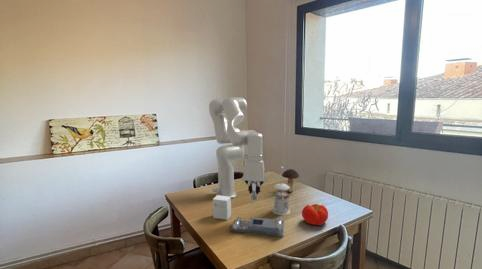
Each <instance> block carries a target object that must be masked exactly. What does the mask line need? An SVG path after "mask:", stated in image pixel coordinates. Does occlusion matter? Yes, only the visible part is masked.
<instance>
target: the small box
mask: <svg viewBox="0 0 482 269" xmlns="http://www.w3.org/2000/svg"><path fill="white" fill-rule="evenodd" d="M231 200H232V198H231V197H228V196H220V195H217V196H216V195H215V197H213V198H212V214H213V216H212V217H213V218H212V219H217V220H218V219H219V220H225V221H229V218H230V217H231V216H232V201H231Z"/></svg>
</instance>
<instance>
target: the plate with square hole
mask: <svg viewBox="0 0 482 269" xmlns="http://www.w3.org/2000/svg"><path fill="white" fill-rule="evenodd" d="M284 231H285V220H284V219H283V217H282V216H278V217H277V219H274V218H273V219H272V218H264V217H263V218H261V217H250V220H242V217H240V216H238V217H236V219H234V221H233V223H232V224H231V227H230V232H231V233H238V234H248V235H249V234H250V235H257V236H258V235H259V236H270V237H280V238H283V237H284V233H285V232H284Z"/></svg>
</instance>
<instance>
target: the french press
mask: <svg viewBox="0 0 482 269" xmlns="http://www.w3.org/2000/svg"><path fill="white" fill-rule="evenodd" d="M284 169H285V167H284V166H280V170H284ZM273 187H274V189H275V190H277V192H275V193H274V201H273V202H274V204H273V207H274V208H272V210H271V211H272V213H273V214H276V215H277V216H287V215H289V214H290V213H291V210H290V202H289V201H290V197H289V193H288V192H287V191H288V189H289V186H288V185H287V184H285V183H276V184H275V185H274V186H273Z"/></svg>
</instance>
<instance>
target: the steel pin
mask: <svg viewBox="0 0 482 269" xmlns="http://www.w3.org/2000/svg"><path fill="white" fill-rule="evenodd" d="M257 185H258V183H257V181H251V194H250V199H251V200H253V201H256V200H258V194H257Z"/></svg>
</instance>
